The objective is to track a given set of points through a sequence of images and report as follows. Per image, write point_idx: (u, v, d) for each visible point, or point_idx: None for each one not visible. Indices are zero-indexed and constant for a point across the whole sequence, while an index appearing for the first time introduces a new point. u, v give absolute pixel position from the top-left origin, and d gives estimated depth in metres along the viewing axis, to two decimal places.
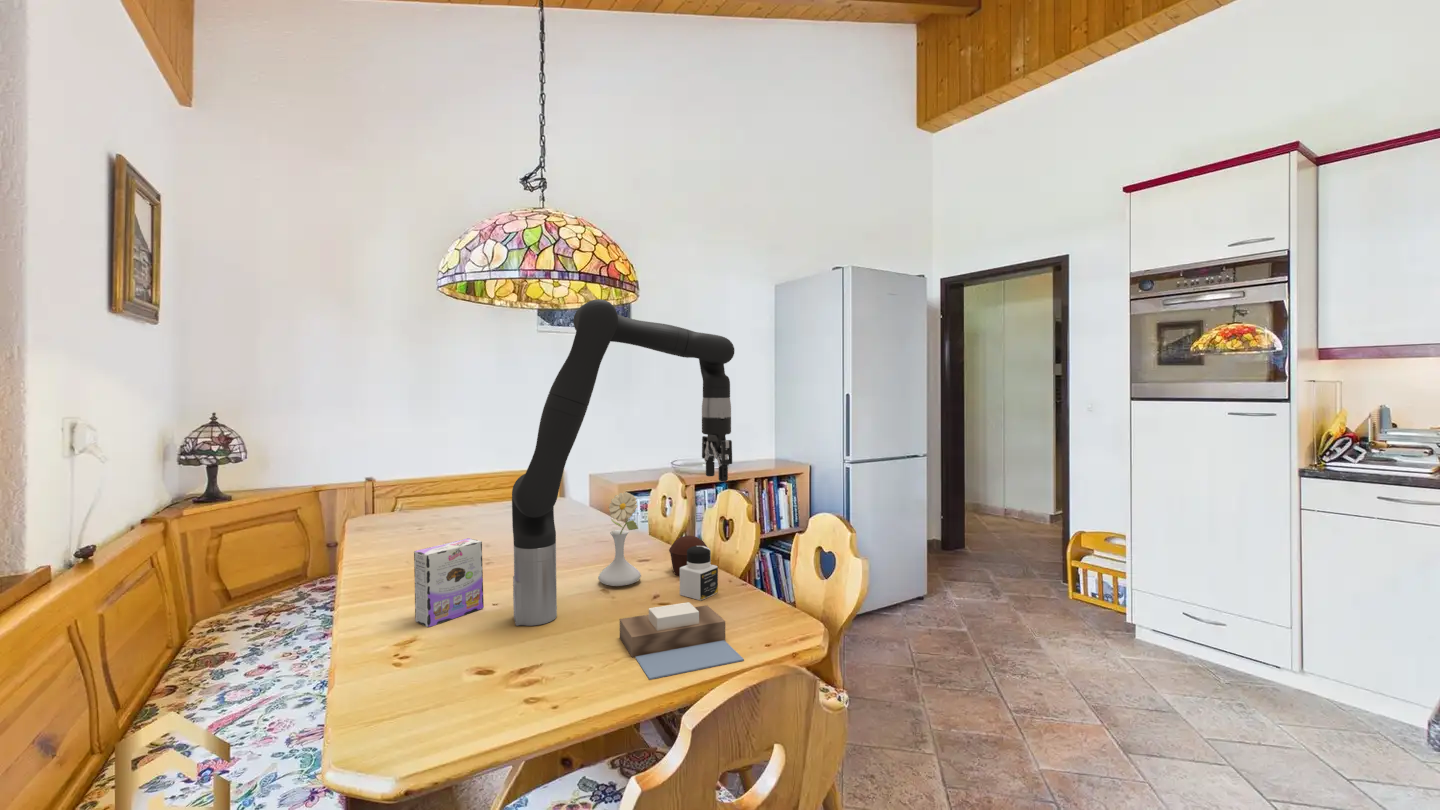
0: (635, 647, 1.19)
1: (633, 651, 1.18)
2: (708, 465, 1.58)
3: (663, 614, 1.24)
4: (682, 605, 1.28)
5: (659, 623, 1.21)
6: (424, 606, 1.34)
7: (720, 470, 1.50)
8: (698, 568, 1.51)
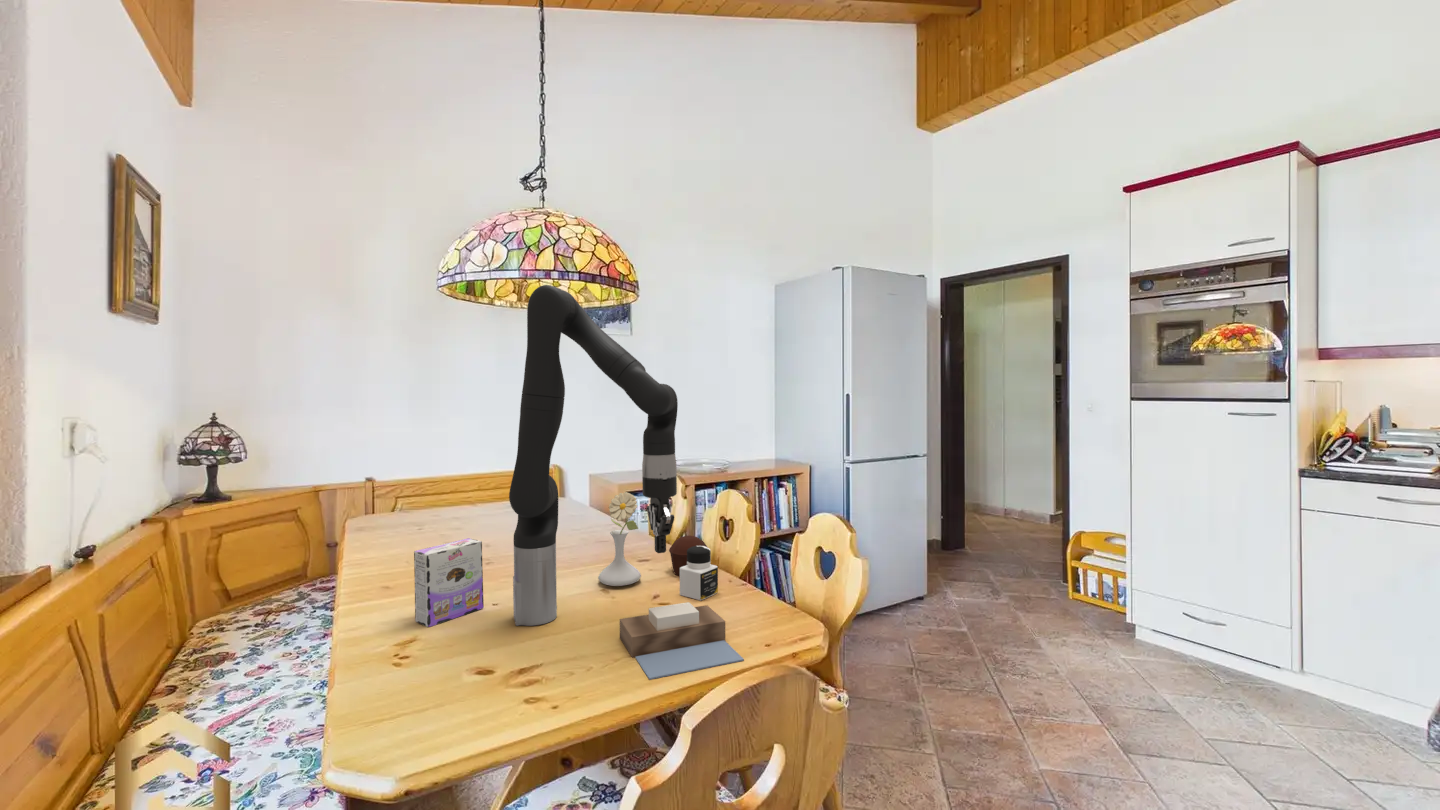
0: (635, 647, 1.19)
1: (633, 651, 1.18)
2: None
3: (663, 614, 1.24)
4: (682, 605, 1.28)
5: (659, 623, 1.21)
6: (424, 606, 1.34)
7: (657, 541, 1.33)
8: (698, 568, 1.51)
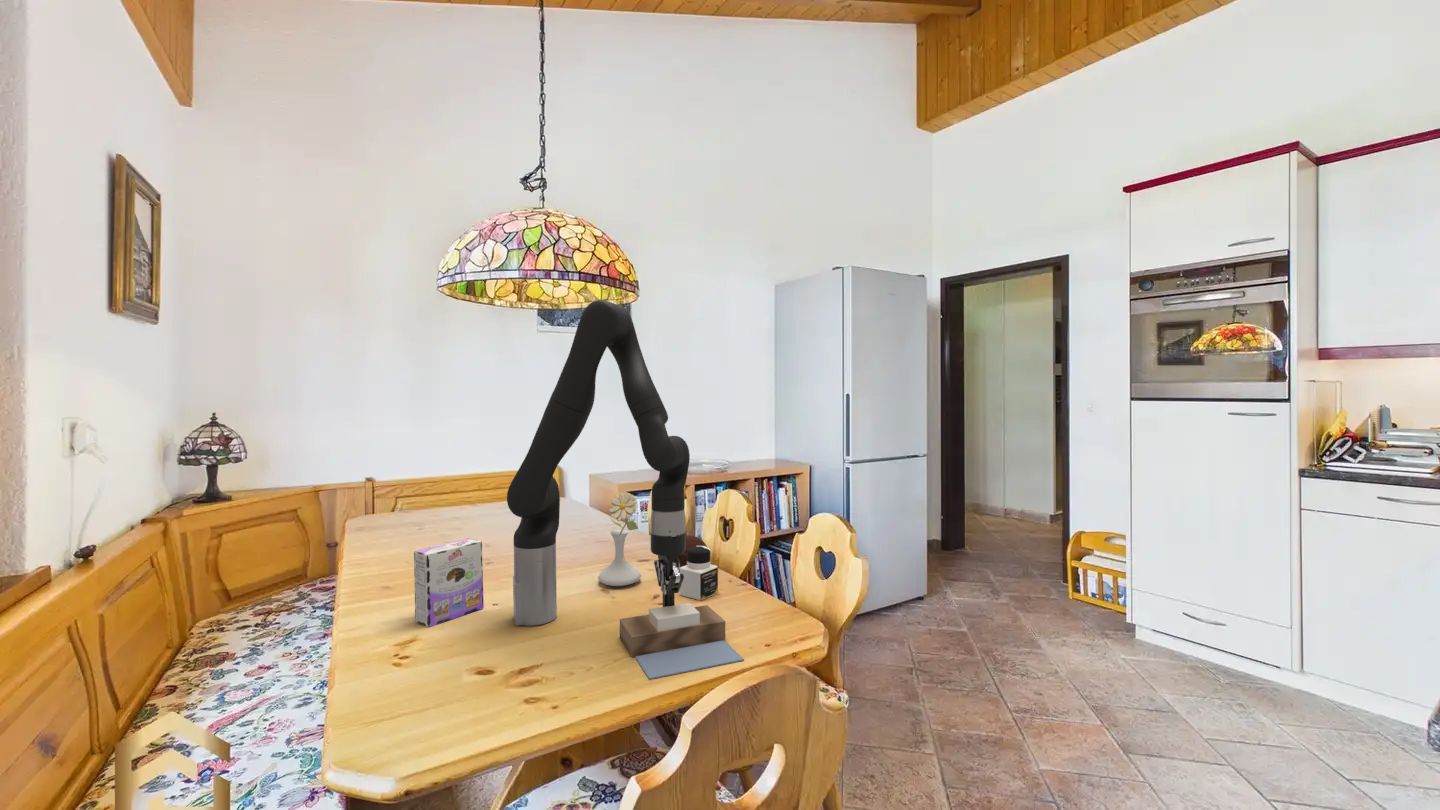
0: (635, 647, 1.19)
1: (633, 651, 1.18)
2: None
3: (664, 615, 1.23)
4: (682, 606, 1.28)
5: (659, 624, 1.21)
6: (424, 606, 1.34)
7: (665, 599, 1.28)
8: (698, 568, 1.51)
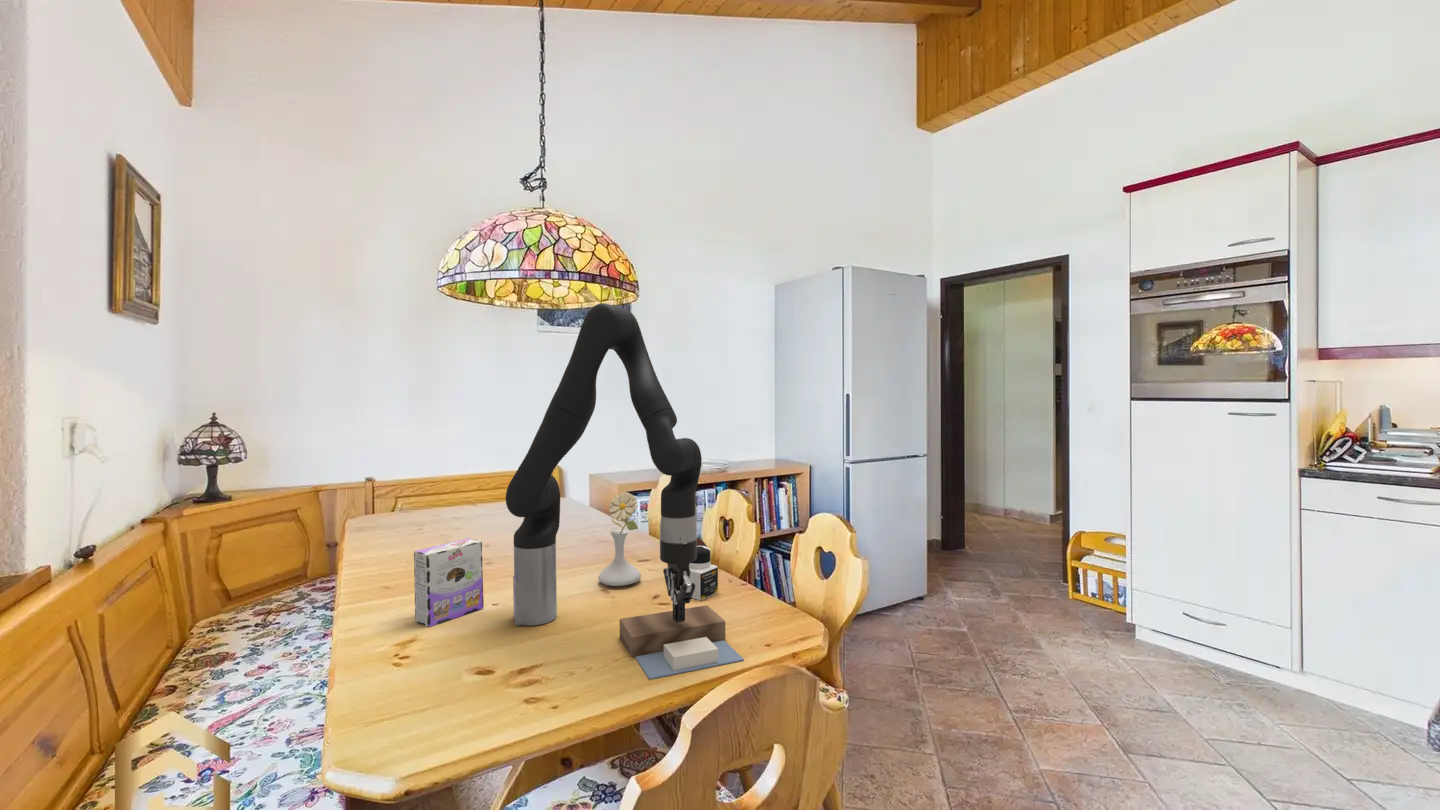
0: (635, 647, 1.19)
1: (633, 651, 1.18)
2: None
3: None
4: None
5: None
6: (424, 606, 1.34)
7: (675, 609, 1.22)
8: (698, 568, 1.51)
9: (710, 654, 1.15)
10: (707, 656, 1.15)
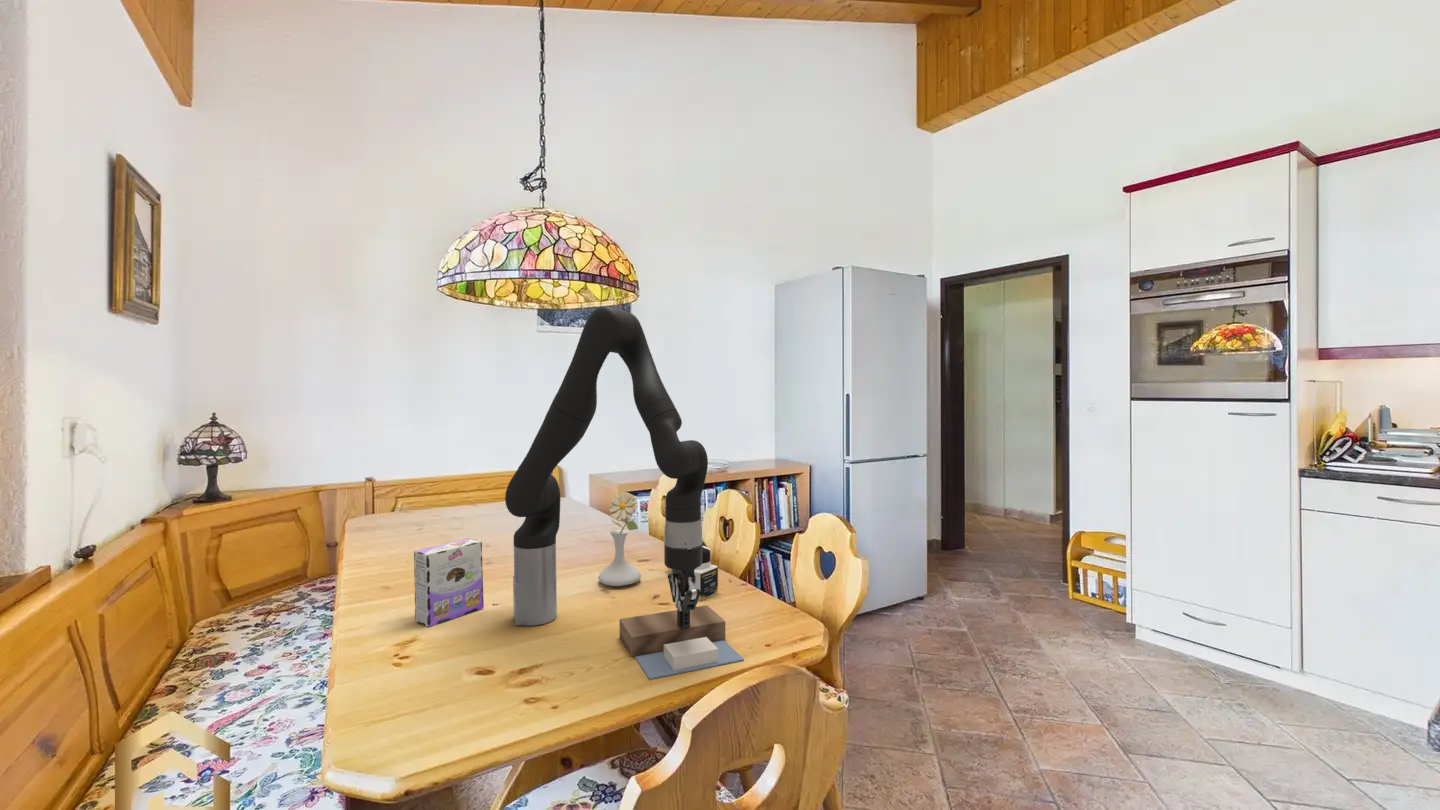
0: (635, 647, 1.19)
1: (633, 651, 1.18)
2: None
3: None
4: None
5: None
6: (424, 606, 1.34)
7: (680, 616, 1.19)
8: (698, 568, 1.51)
9: (710, 654, 1.15)
10: (707, 656, 1.15)
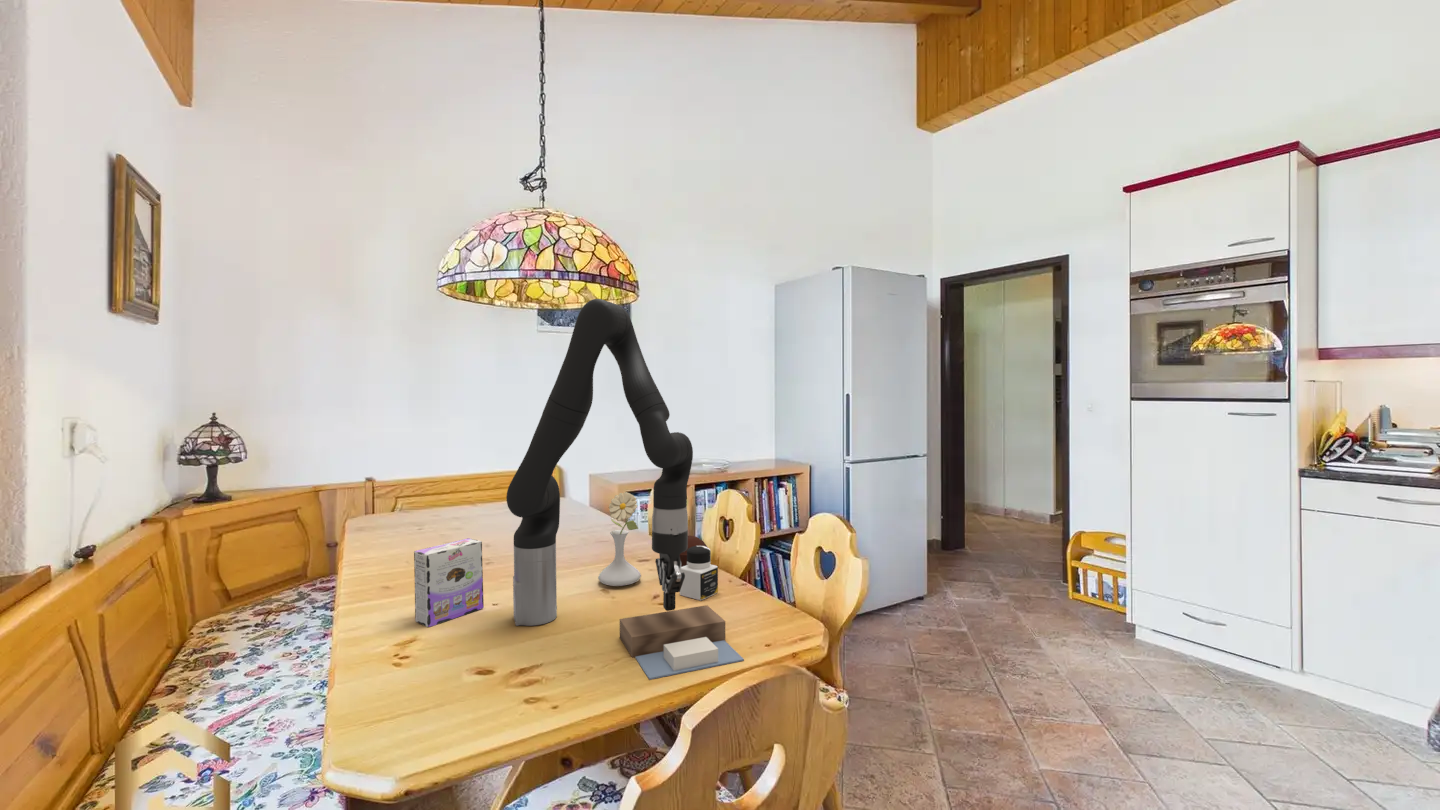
0: (635, 647, 1.19)
1: (633, 651, 1.18)
2: None
3: None
4: None
5: None
6: (424, 606, 1.34)
7: (666, 598, 1.26)
8: (698, 568, 1.51)
9: (710, 654, 1.15)
10: (707, 656, 1.15)
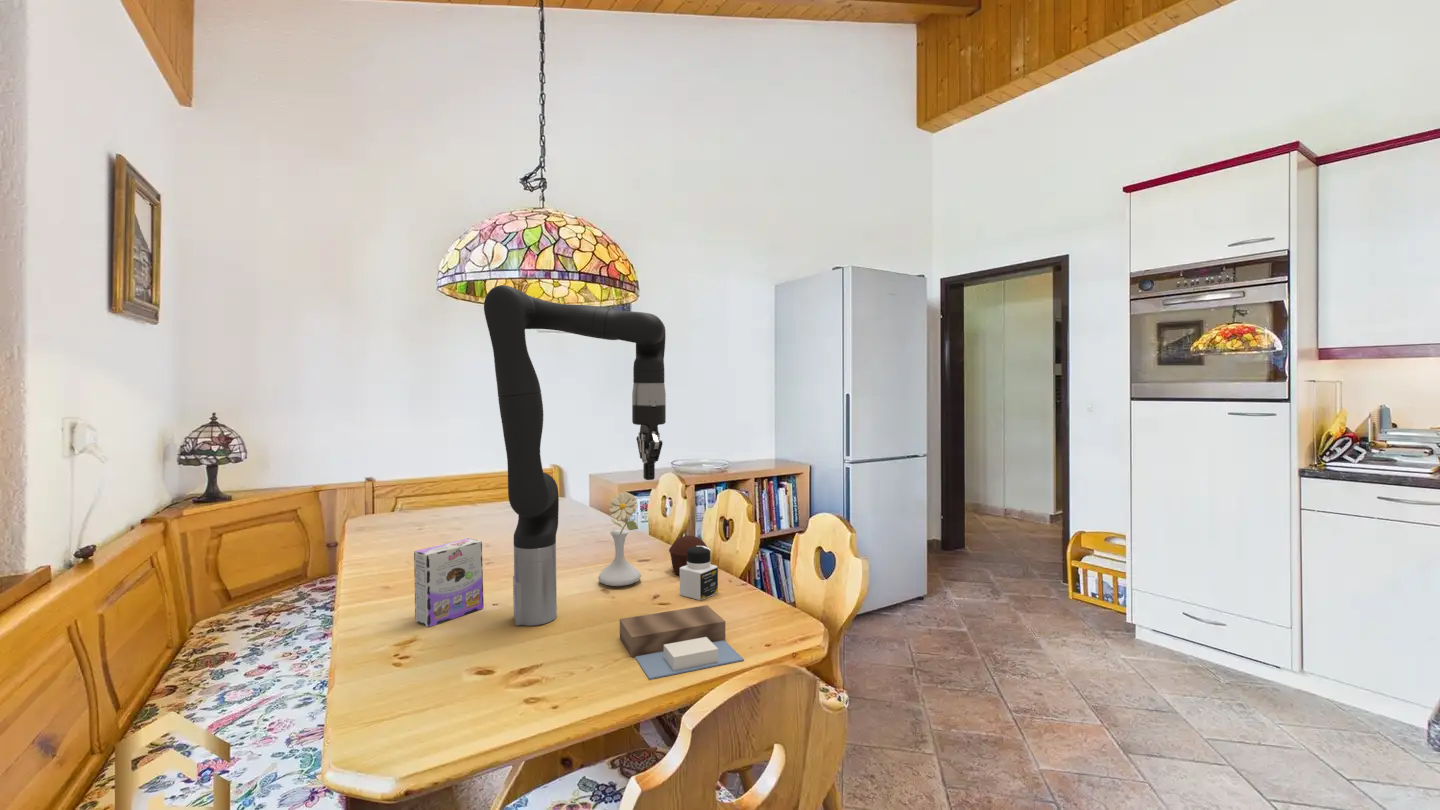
0: (635, 647, 1.19)
1: (633, 651, 1.18)
2: None
3: None
4: None
5: None
6: (424, 606, 1.34)
7: (646, 468, 1.36)
8: (698, 568, 1.51)
9: (710, 654, 1.15)
10: (707, 656, 1.15)
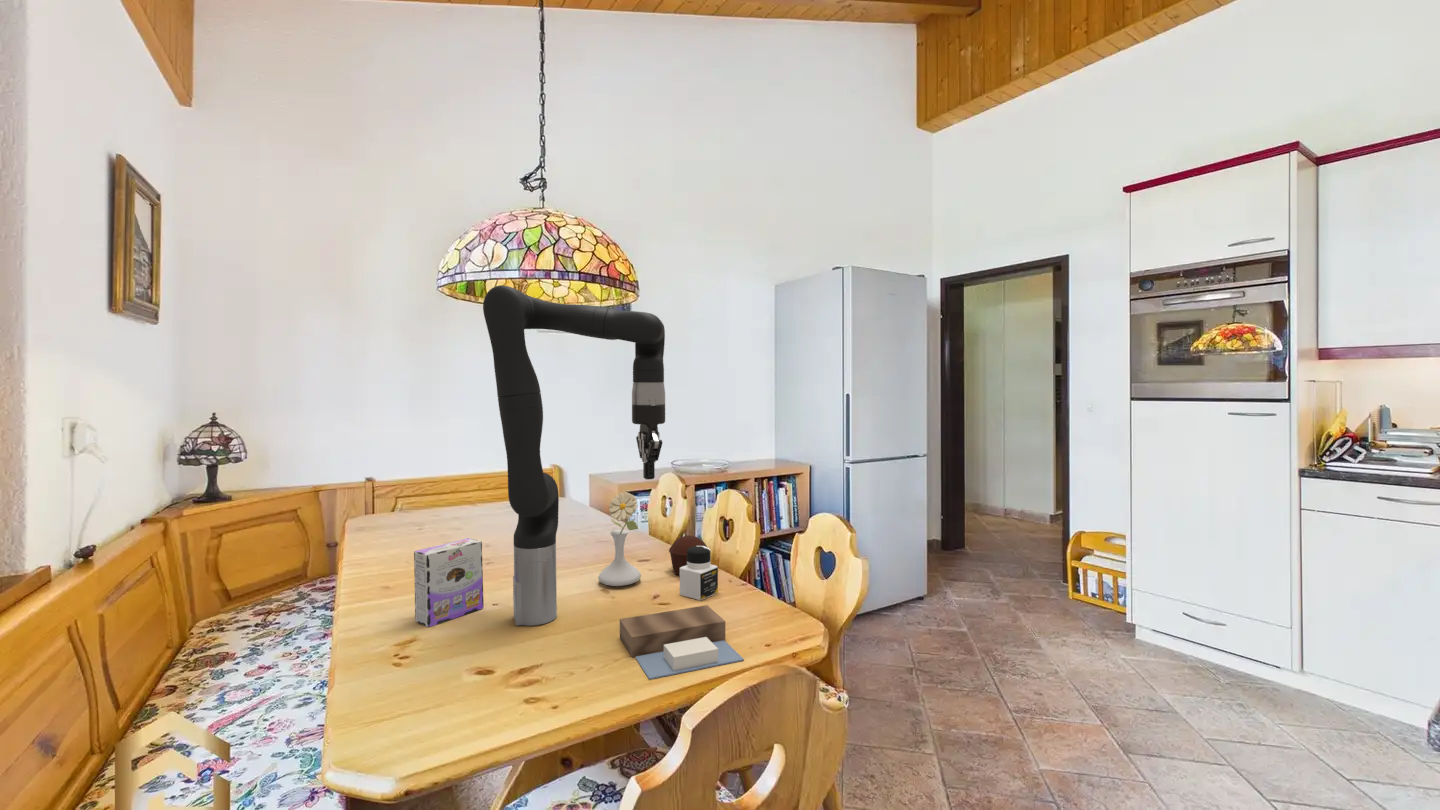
0: (635, 647, 1.19)
1: (633, 651, 1.18)
2: None
3: None
4: None
5: None
6: (424, 606, 1.34)
7: (646, 467, 1.36)
8: (698, 568, 1.51)
9: (710, 654, 1.15)
10: (707, 656, 1.15)
